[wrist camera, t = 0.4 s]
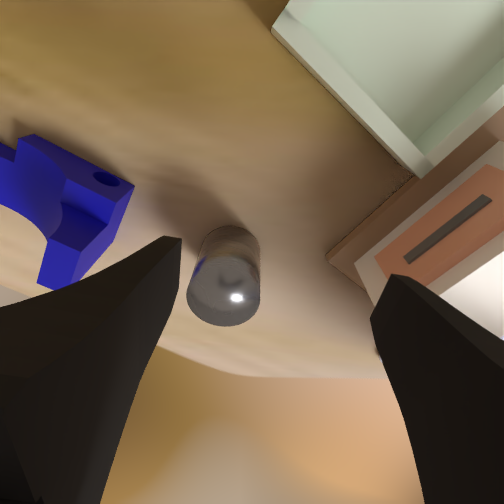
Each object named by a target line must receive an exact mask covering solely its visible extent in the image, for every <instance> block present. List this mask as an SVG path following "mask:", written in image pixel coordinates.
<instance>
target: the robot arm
mask: <svg viewBox="0 0 504 504" xmlns="http://www.w3.org/2000/svg"><path fill="white" fill-rule="evenodd" d="M181 245H182V238H175V237H169V236H162V237H160V238H158V239H157V240H155V241H153V242H152V243H150V244H148V245H147V246H145V247H143V248H142V249H140V250H138V251H137V252H135V253H133V254H132V255H130V256H128V257H127V258H125V259H123V260H121V261H119V262H117V263H115V264H113V265H111V266H109V267H108V268H106V269H104V270H102V271H100V272H98V273H96V274H94V275H91V276H89V277H87V278H85V279H82V280H80V281H78V282H75V283H73V284H70V285H68V286H65V287H63V288H60V289H57V290H54V291H51V292H48V293H45V294H42V295H39V296H36V297H33V298H30V299H27V300H24V301H21V302H17V303H14V304H11V305H7V306H3V307H0V504H100V501H101V498H102V495H103V491H104V488H105V485H106V482H107V479H108V476H109V472H110V469H111V466H112V463H113V460H114V457H115V454H116V450H117V447H118V444H119V441H120V438H121V435H122V432H123V429H124V426H125V423H126V420H127V417H128V414H129V411H130V408H131V405H132V402H133V400H134V397H135V394H136V391H137V388H138V385H139V382H140V380H141V377H142V375H143V372H144V370H145V368H146V366H147V364H148V361H149V359H150V357H151V355H152V353H153V351H154V349H155V346H156V344H157V342H158V340H159V338H160V336H161V334H162V331H163V329H164V327H165V325H166V323H167V320H168V318H169V316H170V314H171V311H172V308H173V305H174V302H175V299H176V295H177V292H178V289H179V276H180V260H181ZM370 321H371V326H372V331H373V336H374V340H375V344H376V347H377V350H378V352H379V359H380V361H381V362H382V363H383V365H384V368H385V371H386V373H387V376H388V378H389V381H390V383H391V386H392V388H393V391H394V393H395V396H396V398H397V401H398V403H399V406H400V409H401V412H402V415H403V418H404V421H405V425H406V428H407V432H408V436H409V439H410V443H411V446H412V450H413V454H414V458H415V463H416V467H417V471H418V475H419V479H420V483H421V487H422V492H423V497H424V502H425V504H504V336H502V337H500V338H499V337H497V336H496V335H494V334H493V333H491V332H490V331H488V330H487V329H485V328H484V327H482V326H481V325H479V324H478V323H476V322H475V321H473V320H472V319H470V318H469V317H468V316H466V315H465V314H463V313H462V312H460V311H459V310H458V309H456V308H455V307H453V306H452V305H451V304H449V303H448V302H446V301H445V300H444V299H442V298H441V297H439V296H438V295H437V294H435V293H434V292H432V291H431V290H430V289H428V288H427V287H425V286H424V285H422V284H421V283H419V282H418V281H416V280H414V279H412V278H411V277H409V276H404V275H398V274H392V273H391V275H390V277H389V279H388V281H387V283H386V285H385V287H384V290H383V292H382V294H381V296H380V298H379V300H378V302H377V304H376V306H375V308H374V310H373V313H372V315H371V317H370Z"/></svg>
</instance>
